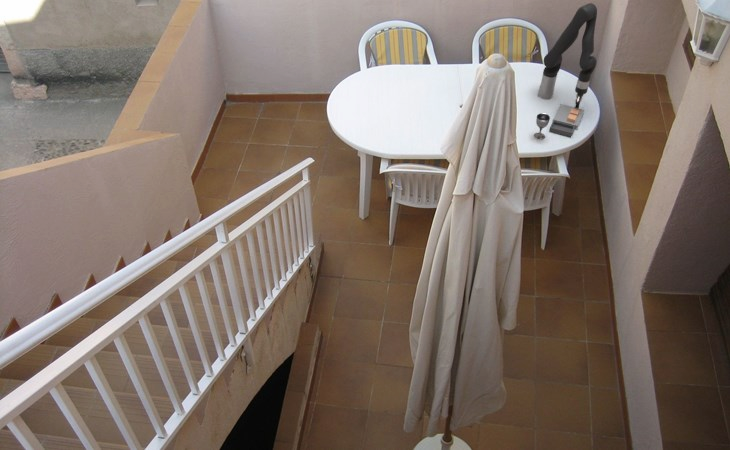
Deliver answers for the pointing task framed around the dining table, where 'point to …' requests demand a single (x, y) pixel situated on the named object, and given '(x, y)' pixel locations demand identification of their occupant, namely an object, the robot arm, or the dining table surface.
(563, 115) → the slate ledge
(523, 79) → the dining table surface
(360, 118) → the dining table surface
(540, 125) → the wine glass
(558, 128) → the tray
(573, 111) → the tile rear
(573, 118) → the tile front
